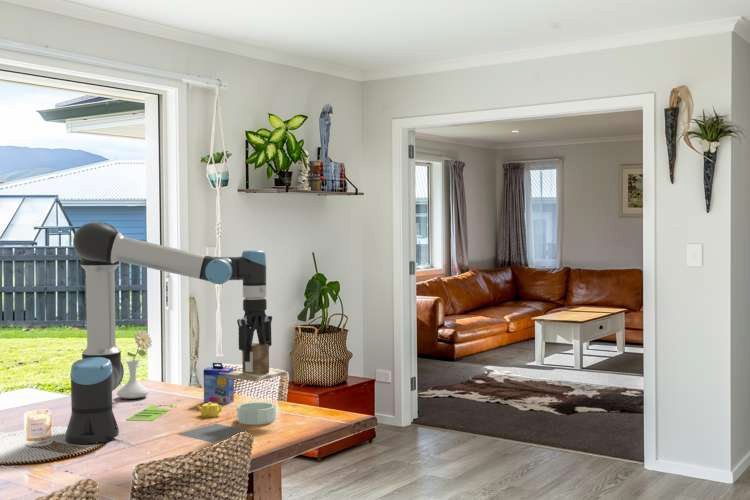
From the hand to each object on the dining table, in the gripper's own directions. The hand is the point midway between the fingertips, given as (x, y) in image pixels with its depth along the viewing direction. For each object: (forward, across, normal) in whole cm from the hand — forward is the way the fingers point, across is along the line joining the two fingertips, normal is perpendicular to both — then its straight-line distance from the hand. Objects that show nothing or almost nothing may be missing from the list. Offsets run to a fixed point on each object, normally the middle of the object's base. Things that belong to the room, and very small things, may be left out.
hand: (255, 370), depth 265 cm
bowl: (+17, 0, 0) cm, 17 cm away
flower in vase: (+17, +1, +64) cm, 67 cm away
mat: (+17, -19, -1) cm, 25 cm away
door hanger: (+17, -10, +39) cm, 44 cm away
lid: (+2, 0, 0) cm, 2 cm away
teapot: (+17, -5, +17) cm, 25 cm away
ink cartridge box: (+17, +14, +33) cm, 40 cm away
